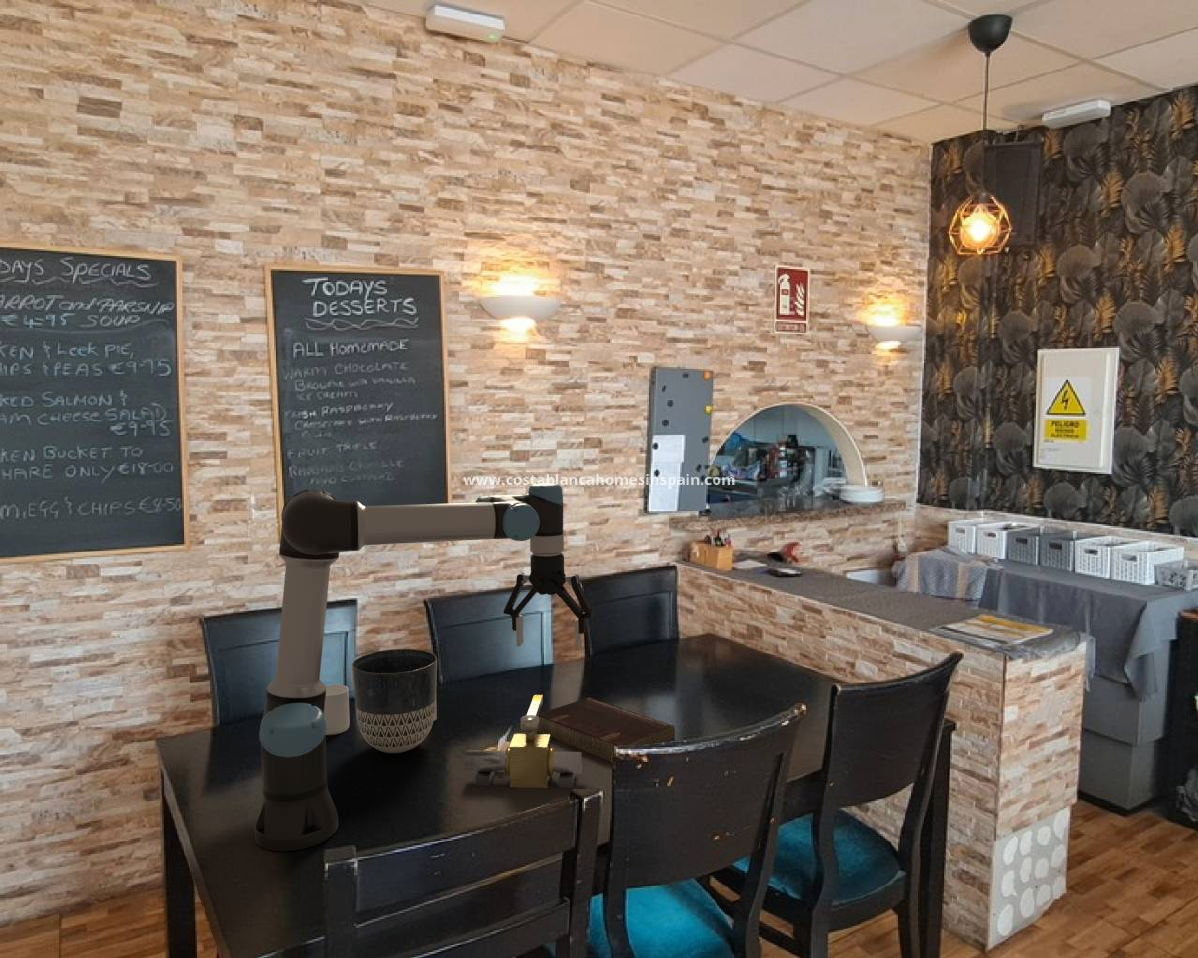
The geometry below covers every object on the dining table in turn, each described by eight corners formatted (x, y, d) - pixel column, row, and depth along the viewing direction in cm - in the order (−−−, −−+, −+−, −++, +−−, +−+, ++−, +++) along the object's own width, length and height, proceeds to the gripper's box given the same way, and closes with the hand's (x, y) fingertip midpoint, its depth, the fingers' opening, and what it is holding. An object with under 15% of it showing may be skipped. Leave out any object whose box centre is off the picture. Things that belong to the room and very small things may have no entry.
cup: (321, 737, 212) (319, 697, 211) (306, 723, 221) (305, 684, 221) (354, 730, 216) (353, 691, 215) (338, 716, 226) (337, 678, 225)
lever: (538, 730, 184) (538, 721, 184) (519, 730, 184) (519, 721, 184) (546, 703, 201) (546, 694, 201) (529, 702, 201) (529, 694, 201)
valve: (580, 788, 183) (579, 735, 182) (463, 786, 184) (462, 734, 183) (582, 774, 190) (582, 723, 189) (470, 772, 191) (469, 721, 190)
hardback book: (674, 743, 208) (674, 723, 207) (621, 767, 195) (621, 746, 194) (590, 713, 228) (590, 695, 228) (536, 733, 215) (536, 714, 214)
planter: (339, 748, 205) (336, 660, 203) (410, 726, 219) (408, 644, 217) (382, 773, 191) (379, 679, 189) (455, 748, 205) (453, 660, 203)
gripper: (605, 551, 193) (606, 644, 195) (499, 548, 198) (501, 638, 200) (598, 557, 186) (599, 653, 188) (488, 554, 191) (490, 648, 193)
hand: (548, 646), depth 194 cm, fingers open, 13 cm apart
